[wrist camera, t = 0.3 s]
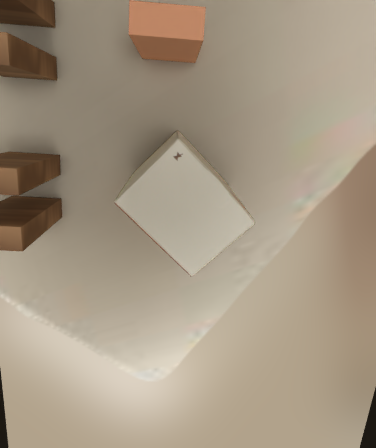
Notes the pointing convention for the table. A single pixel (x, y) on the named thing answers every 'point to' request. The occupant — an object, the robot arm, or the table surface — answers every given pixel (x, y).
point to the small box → (184, 205)
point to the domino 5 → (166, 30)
